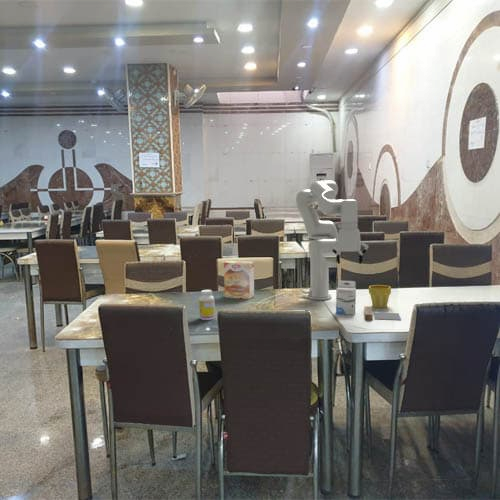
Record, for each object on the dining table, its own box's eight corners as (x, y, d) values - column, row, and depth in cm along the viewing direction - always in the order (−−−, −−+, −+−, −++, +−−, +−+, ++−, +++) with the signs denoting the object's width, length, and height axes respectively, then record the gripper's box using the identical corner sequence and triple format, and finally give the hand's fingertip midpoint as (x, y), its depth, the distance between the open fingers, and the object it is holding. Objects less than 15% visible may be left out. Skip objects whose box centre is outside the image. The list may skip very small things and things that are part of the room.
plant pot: (366, 304, 227) (366, 284, 226) (387, 303, 227) (387, 284, 225) (371, 309, 217) (371, 288, 216) (393, 308, 216) (393, 288, 215)
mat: (374, 319, 199) (374, 318, 199) (373, 313, 209) (373, 312, 209) (401, 320, 196) (401, 319, 196) (398, 313, 207) (398, 313, 207)
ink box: (335, 313, 210) (335, 282, 208) (337, 311, 214) (337, 280, 212) (354, 314, 207) (354, 282, 205) (355, 312, 211) (356, 280, 210)
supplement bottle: (200, 316, 208) (199, 289, 207) (214, 316, 209) (213, 288, 207) (199, 320, 202) (198, 292, 200) (214, 320, 202) (213, 291, 201)
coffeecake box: (224, 297, 247) (223, 262, 245) (229, 294, 254) (228, 260, 252) (249, 299, 242) (249, 263, 240) (254, 296, 248) (254, 261, 246)
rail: (365, 320, 198) (365, 314, 197) (364, 311, 212) (364, 306, 212) (372, 320, 197) (372, 314, 197) (371, 311, 211) (371, 306, 211)
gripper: (329, 227, 208) (329, 264, 209) (368, 226, 203) (368, 264, 204) (331, 226, 215) (331, 262, 216) (368, 226, 210) (369, 262, 211)
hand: (349, 263), depth 210 cm, fingers open, 9 cm apart
